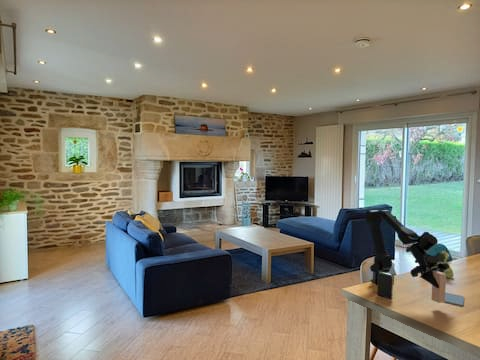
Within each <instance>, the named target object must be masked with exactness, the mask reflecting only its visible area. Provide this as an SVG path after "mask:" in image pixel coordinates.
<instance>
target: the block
mask: <svg viewBox="0 0 480 360" xmlns="http://www.w3.org/2000/svg"><path fill="white" fill-rule="evenodd" d="M433 276H434V278H435V280H436V281H437V283H438V285H439V288H436V287H435V286H433V285H432V284H431V299H430V300H431V301H433V302H434V303H435V302H436V303H438V304H440V303H441V304H442V303H445V292H446V287H447V284H446V283H447V277H446V274H445V273H442V272H439V271H438V272H433Z"/></svg>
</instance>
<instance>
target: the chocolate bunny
mask: <svg viewBox="0 0 480 360" xmlns="http://www.w3.org/2000/svg"><path fill="white" fill-rule="evenodd" d="M440 253H443V254H444V256H445V260H444V261H445V263H448V262H447V260H448V259H449V258H450V256H451V255H450V254H449V253H447V251H446V250H442V251H441V252H440ZM439 263H444V262H438V264H439ZM438 264H437V265H438ZM435 266H436V265H435ZM443 273H445V274H446V279H447V278H448V279H453V278H454V272H453V269H452V267H451V266H450V268H448V269H447V270H445V271H444V272H443Z"/></svg>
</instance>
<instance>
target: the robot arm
mask: <svg viewBox="0 0 480 360" xmlns="http://www.w3.org/2000/svg"><path fill="white" fill-rule="evenodd" d="M364 219H365V221H366V223H367V225H369V227H370V232H371V237H372V240H373V241H372V242H373V246H374V250H375V255H374V258H373V262H374V263H373V264H371V266H370V268H369V269H370V271H371V272H372V279H371V282H373V283H374V284H375V285H377V286H378V274H379V273H380V272H386V273H390V270H391V268H393V260H392V256H391V255H390V254H388V253H387V252H386V247H385V243H384V238H383V234H382V228H381V224H382V222H383V220H384V222H386V223H387V224H388V226H389V227H391V229H392V230H393V231H394V232H396V234H397V235H396V236H397V238H398V240H400V242H401V243H402V244H403V245H406V249H405V252H406V253H411V254H412V256H413V257H414V259H415V260H414V263H415V264H418V265H416V266H415V267H414V268H412V269H410V274H411V276H412V278H415V277H419V278H420V279H423V280H424V281H426V282H427V283H429V284H430V285H431V286H432V285H433V286H435V287H436V288H439V285H438V283H437V281H436V280H435V278H434V276H433V272H438V271H439V272H442V273H443V272H444V271H445V270H447V269H448V268H450V267H451V266H450V265H449V263H448V262H447V263H445V261H444V260H445V256H444V254H443V253H441V252H437V253H436V254H435V255H432V254H430V253H427V251H429V250H431V249H432V248H433V247H434V246H436V245H437V244H438V243H439V242H438V239H437V237H436V236H434V235H433V234H431V233H429V231H424V232H423V233H422V234H421V235H419V234H418V233H417V232H415V231H414V230H413V229H411V228H408V227H406V226H405V225H404V224H402V222H400V221H399V219H397V218H396V217H395V215H394V214H393V213H392V212H391V211H390V210H388V209H381V210H378V209H372V210H369V209H368V210H366V211H365V213H364ZM407 245H408V246H407ZM438 262H444V263H439V264H438ZM437 264H438V265H437ZM435 265H436V266H435ZM419 274H420V276H419Z"/></svg>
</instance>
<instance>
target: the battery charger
mask: <svg viewBox="0 0 480 360" xmlns="http://www.w3.org/2000/svg"><path fill="white" fill-rule="evenodd" d="M394 285H395V276H394V274H392V273H391V272H387V273H386V272H380V273H379V274H378V285H377V292H376V295H378V296H380V297H384V298H387V299H393V296H394V295H393V289H394Z"/></svg>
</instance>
